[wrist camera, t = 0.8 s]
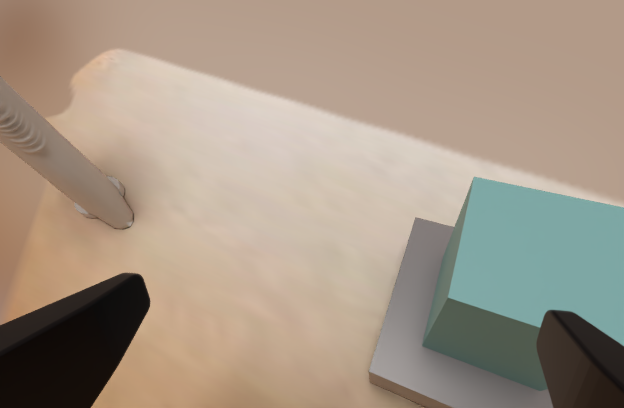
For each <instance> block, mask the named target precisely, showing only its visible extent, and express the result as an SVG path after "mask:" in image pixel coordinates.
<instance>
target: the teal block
mask: <svg viewBox="0 0 624 408" xmlns="http://www.w3.org/2000/svg"><path fill="white" fill-rule="evenodd" d="M548 310H564V311H571V312H574V313H576V314H577V315H579V316H580V317H582V318H583V319H585V320H586V321H588V322H589V323H591V324H592V325H594V326H595V327H597V328H598V329H600V330H601V331H602V332H604V333H605V334H607V335H608V336H610V337H611V338H613V339H614V340H616V341H617V342H619V343H620V344H622V345H623V346H624V208H623V207H618V206H613V205H608V204H604V203H599V202H594V201H589V200H584V199H579V198H574V197H570V196H565V195H560V194H555V193H550V192H545V191H541V190H536V189H531V188H526V187H521V186H516V185H511V184H507V183H502V182H497V181H492V180H487V179H482V178H477V177H474V178H473V181H472V184H471V186H470V189H469V191H468V194H467V196H466V199H465V202H464V204H463V207H462V209H461V212H460V215H459V217H458V220H457V222H456V225H455V227H454V230H453V233H452V235H451V238H450V240H449V243H448V245H447V248H446V251H445V253H444V256H443V260H442V264H441V268H440V272H439V276H438V281H437V285H436V289H435V293H434V297H433V301H432V306H431V310H430V314H429V318H428V322H427V326H426V331H425V335H424V339H423V343H422V346H423V347H426V348H428V349H431V350H434V351H436V352H439V353H441V354H444V355H447V356H449V357H452V358H454V359H457V360H460V361H462V362H465V363H468V364H470V365H473V366H475V367H478V368H481V369H483V370H486V371H488V372H491V373H494V374H496V375H499V376H502V377H504V378H507V379H509V380H512V381H515V382H517V383H520V384H522V385H525V386H528V387H530V388H533V389H536V390H538V391H542V390H546V389H548V388H547V384H546V381H545V378H544V374H543V371H542V367H541V364H540V360H539V357H538V353H537V348H536V342H537V337H538V334H539V331H540V327H541V324H542V321H543V317H544V315H545V313H546V312H547V311H548Z"/></svg>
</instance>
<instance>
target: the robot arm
mask: <svg viewBox="0 0 624 408" xmlns="http://www.w3.org/2000/svg"><path fill="white" fill-rule="evenodd" d="M149 307H150V297H149V294H148V291H147V288H146V285H145V282H144V279H143V277H142V276H141V275H140V274H136V273H122V274H119V275H117V276H115V277H112V278H110V279H108V280H105V281H103V282H101V283H98V284H96V285H94V286H91V287H89V288H87V289H84V290H82V291H80V292H77V293H75V294H73V295H70V296H68V297H66V298H63V299H61V300H59V301H56V302H54V303H52V304H49V305H47V306H45V307H42V308H40V309H37V310H35V311H33V312H30V313H28V314H26V315H23V316H21V317H19V318H16V319H14V320H12V321H9V322H7V323H5V324H2V325H0V408H91V406H92V405H93V403H94V402H95V400H96V399H97V397H98V396H99V394H100V393H101V391H102V390H103V388H104V387H105V385H106V384H107V382H108V381H109V379H110V378H111V376H112V375H113V373H114V371H115V370H116V368H117V367H118V365H119V363H120V361H121V360H122V358H123V356H124V354H125V352H126V351H127V349H128V347H129V345H130V343H131V341H132V339H133V338H134V336H135V334H136V332H137V330H138V328H139V327H140V325H141V323H142V321H143V319H144V317H145V316H146V314H147V312H148V310H149ZM536 348H537V353H538V357H539V360H540V364H541V367H542V371H543V374H544V378H545V381H546V384H547V388H548V391H549V395H550V398H551V402H552V405H553V408H624V346H623V345H622V344H620V343H619V342H617V341H616V340H614V339H613V338H611V337H610V336H608V335H607V334H605V333H604V332H602V331H601V330H600V329H598V328H597V327H595V326H594V325H592V324H591V323H589V322H588V321H586V320H585V319H583V318H582V317H580V316H579V315H577V314H576V313H574V312H571V311H564V310H548V311H547V312H546V313H545V315H544V317H543V321H542V324H541V327H540V331H539V334H538V337H537V342H536Z"/></svg>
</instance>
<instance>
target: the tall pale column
mask: <svg viewBox="0 0 624 408" xmlns="http://www.w3.org/2000/svg"><path fill="white" fill-rule="evenodd" d="M0 142H1V143H2V144H3V145H4V146H6V147H7V148H8V149H9V150H11V151H12V152H13V153H15V154H16V155H17V156H18V157H19V158H21V159H22V160H23V161H25V162H26V163H27V164H28V165H29V166H31V167H32V168H33V169H34V170H36V171H37V172H38V173H39V174H40V175H42V176H43V177H44V178H45V179H47V180H48V181H49V182H50V183H51V184H53V185H54V186H55V187H56V188H58V189H59V190H60V191H61V192H63V193H64V194H65V195H66V196H68V197H69V198H70V199H71V200H73V201H74V202H75V208H76V210H77V211H79V212H80V213H81V214H83V215H84V216H86V217H88V218H97V217H98V218H100V219H101V220H103V221H104V222H106V223H107V224H109V225H110V226H112V227H113V228H115V229H126V228H128V227H130V226H131V224H132V223H133V215H134V214H133V212H132V211H131V209H130V207H129V206H128V204H127V203H126V201H125V200H124V198H123V196H124V193H125V192H124V187H123V185H122V184H121V183H120V182H119V181H118V180H117V179H116V178H114V177H111V176H105V175H104V174H103V173H102V172H101V171H100V170H99V169H98V168H97V167H96V166H95V165H94V164H93V163H91V162H90V161H89V160H88V159H87V158H86V157H85V156H84V155H83V154H82V153H81V152H80V151H79V150H78V149H76V148H75V147H74V146H73V145H72V144H71V143H70V142H69V141H68V140H67V139H66V138H64V137H63V136H62V135H61V134H60V133H59V132H58V131H57V130H56V129H55V128H54V127H53V126H52V125H51V124H50V123H49V122H48V121H47V120H46V119H44V118H43V117H42V116H41V115H40V114H39V113H38V112H37V111H36V110H35V109H34V108H33V107H32V106H31V105H30V104H29V103H28V102H26V100H25V99H24V98H22V97H21V96H20V95H19V94H18V93H17V92H16V91H15V90H14V89H13V88H12V87H11V86H10V85H9V84H8V83H7V82H6V81H5V80H4V79H3V78H2V77H1V76H0Z"/></svg>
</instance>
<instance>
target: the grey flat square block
mask: <svg viewBox="0 0 624 408" xmlns="http://www.w3.org/2000/svg"><path fill="white" fill-rule="evenodd" d="M453 230H454V227H451V226H447V225H443V224H439V223H435V222H432V221H428V220H424V219H420V218H416V217H415V221H414V224H413V227H412V231H411V234H410V237H409V240H408V244H407V247H406V250H405V254H404V257H403V260H402V264H401V267H400V270H399V273H398V277H397V280H396V283H395V287H394V290H393V293H392V297H391V300H390V303H389V306H388V310H387V313H386V316H385V320H384V323H383V326H382V329H381V333H380V336H379V339H378V343H377V346H376V349H375V353H374V356H373V359H372V362H371V366H370V369H369V380H370V383H373V384H375V385H377V386H379V387H382V388H384V389H386V390H388V391H391V392H393V393H395V394H398V395H400V396H402V397H404V398H407V399H409V400H411V401H413V402H416V403H418V404H420V405H423V406H425V407H427V408H553V405H552V402H551V398H550V395H549V391H548V389H546V390H542V391H538V390H536V389H533V388H530V387H528V386H525V385H522V384H520V383H517V382H515V381H512V380H509V379H507V378H504V377H502V376H499V375H496V374H494V373H491V372H488V371H486V370H483V369H481V368H478V367H475V366H473V365H470V364H468V363H465V362H462V361H460V360H457V359H454V358H452V357H449V356H447V355H444V354H441V353H439V352H436V351H434V350H431V349H428V348H426V347H423V346H422V343H423V339H424V335H425V331H426V326H427V322H428V318H429V314H430V310H431V306H432V301H433V297H434V293H435V289H436V285H437V281H438V276H439V272H440V268H441V264H442V260H443V256H444V253H445V251H446V248H447V245H448V243H449V240H450V238H451V235H452V233H453Z"/></svg>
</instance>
